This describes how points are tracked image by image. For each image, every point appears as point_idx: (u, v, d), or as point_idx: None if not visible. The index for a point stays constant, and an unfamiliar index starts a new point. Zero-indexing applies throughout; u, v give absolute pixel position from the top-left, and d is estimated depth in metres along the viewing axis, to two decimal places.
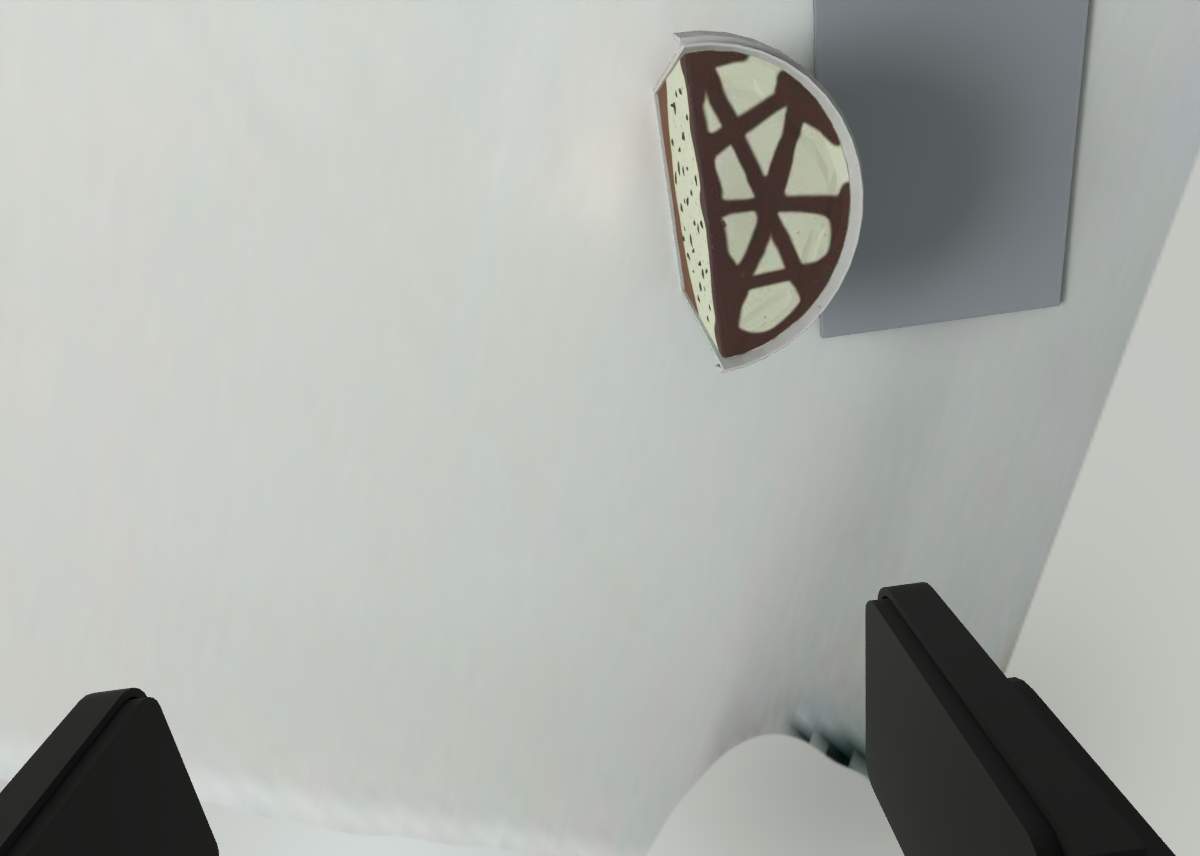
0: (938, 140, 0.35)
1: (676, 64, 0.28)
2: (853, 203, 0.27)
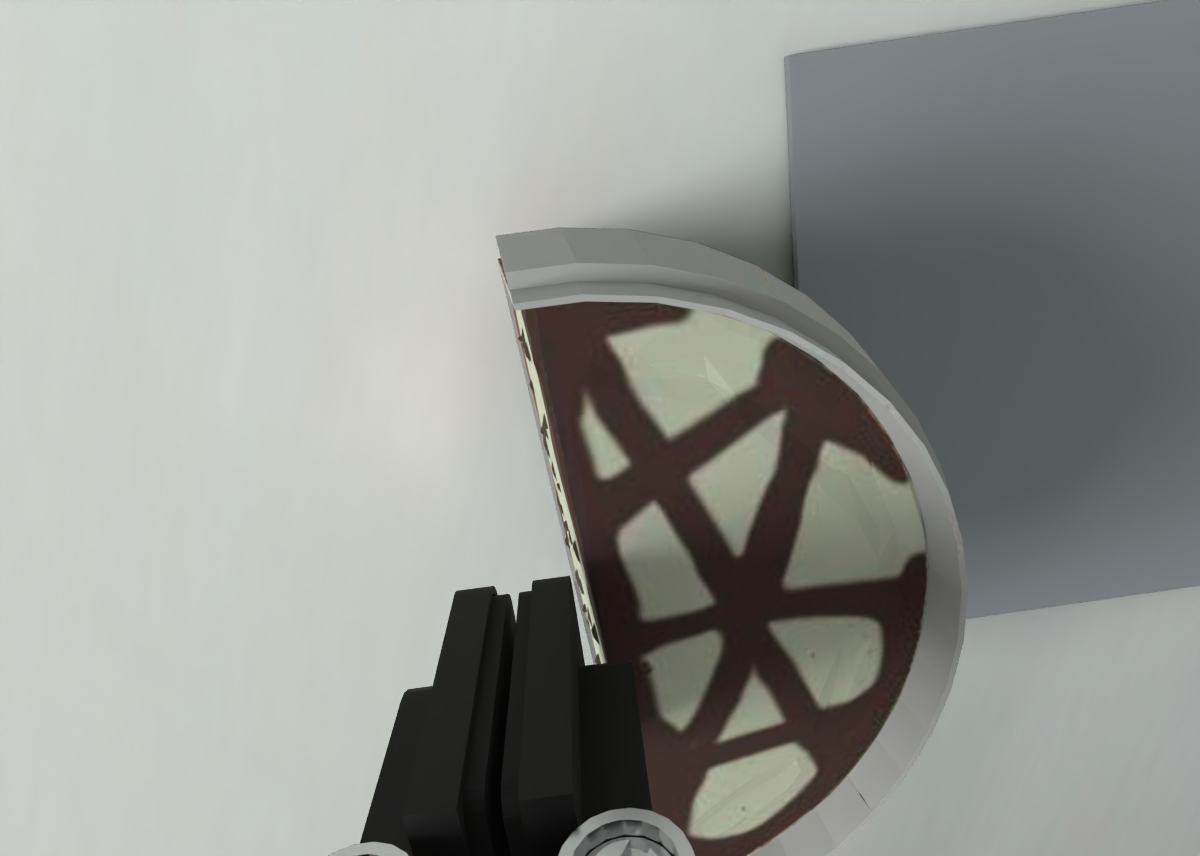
0: (1013, 334, 0.20)
1: None
2: (936, 597, 0.12)
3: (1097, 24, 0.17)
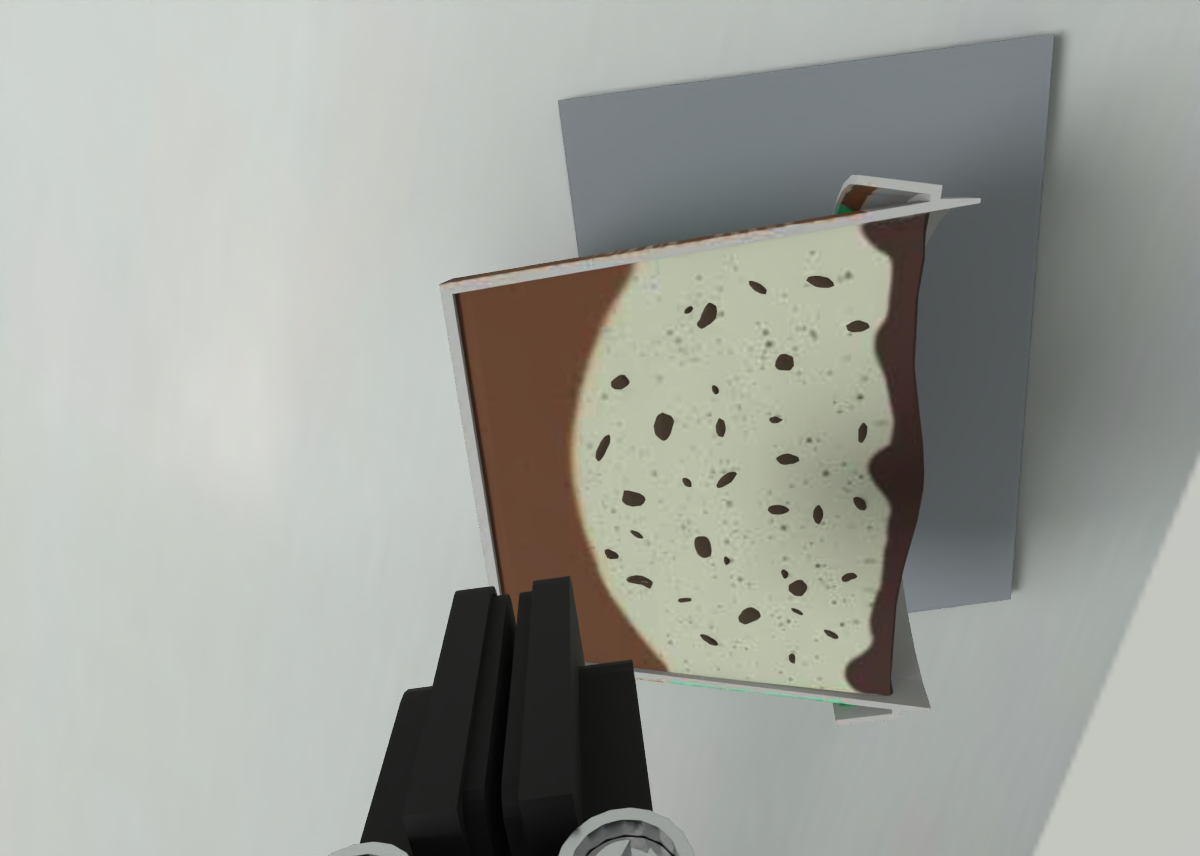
0: None
1: (804, 232, 0.14)
2: None
3: (848, 74, 0.18)
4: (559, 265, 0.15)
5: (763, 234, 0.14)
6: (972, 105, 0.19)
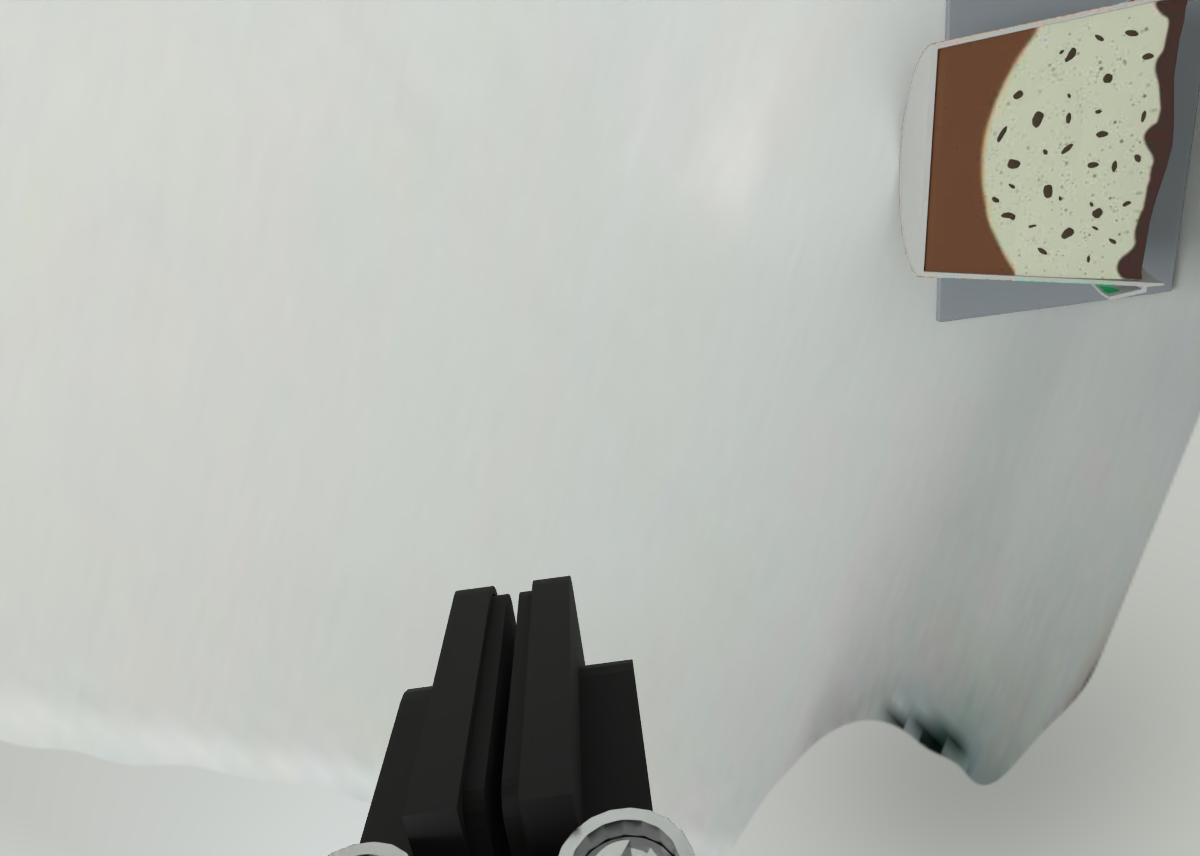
0: None
1: (1126, 7, 0.29)
2: None
3: None
4: (998, 30, 0.30)
5: (1106, 8, 0.29)
6: None
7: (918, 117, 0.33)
